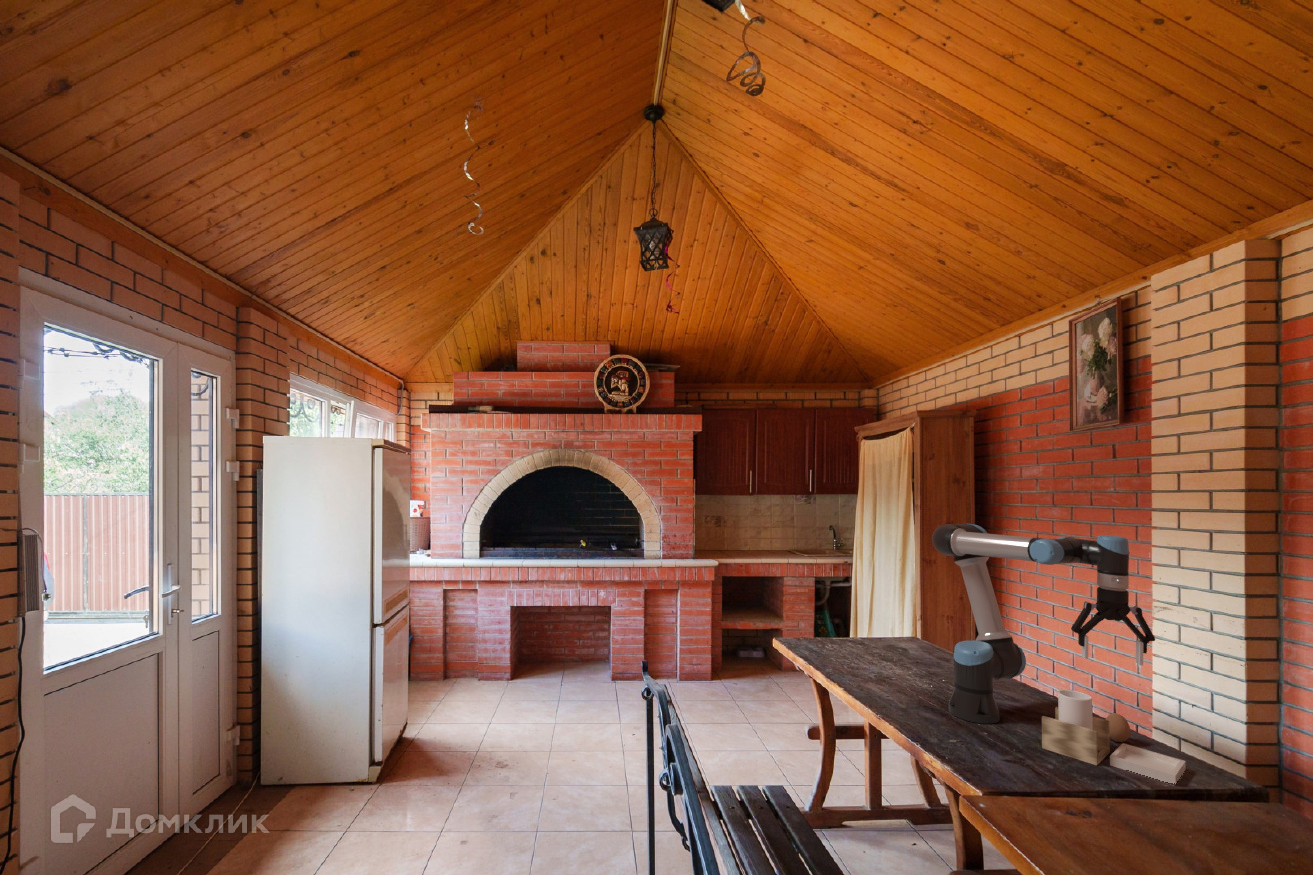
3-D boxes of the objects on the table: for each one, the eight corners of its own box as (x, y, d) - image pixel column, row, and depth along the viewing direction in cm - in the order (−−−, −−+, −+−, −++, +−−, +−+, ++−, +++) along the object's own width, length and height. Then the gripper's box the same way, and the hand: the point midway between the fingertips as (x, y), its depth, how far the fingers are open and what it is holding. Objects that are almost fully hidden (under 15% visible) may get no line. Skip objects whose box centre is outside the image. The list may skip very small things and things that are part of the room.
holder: (1042, 747, 177) (1041, 716, 178) (1056, 736, 186) (1056, 706, 186) (1096, 765, 167) (1096, 732, 167) (1109, 752, 175) (1109, 720, 176)
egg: (1125, 747, 179) (1124, 719, 180) (1100, 739, 185) (1100, 711, 185) (1134, 743, 182) (1133, 715, 183) (1109, 735, 188) (1109, 708, 189)
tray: (1110, 765, 167) (1109, 755, 167) (1122, 751, 176) (1122, 742, 176) (1175, 785, 156) (1175, 775, 157) (1185, 770, 165) (1185, 760, 166)
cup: (1098, 758, 171) (1097, 700, 172) (1066, 754, 173) (1065, 697, 174) (1084, 745, 179) (1083, 691, 180) (1054, 742, 181) (1053, 688, 182)
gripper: (1068, 586, 178) (1067, 658, 177) (1169, 595, 171) (1169, 670, 170) (1059, 581, 185) (1058, 651, 184) (1157, 590, 178) (1156, 662, 177)
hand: (1111, 660), depth 177 cm, fingers open, 13 cm apart
